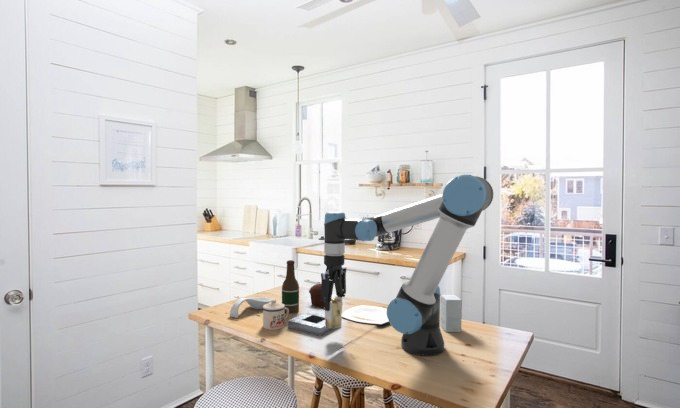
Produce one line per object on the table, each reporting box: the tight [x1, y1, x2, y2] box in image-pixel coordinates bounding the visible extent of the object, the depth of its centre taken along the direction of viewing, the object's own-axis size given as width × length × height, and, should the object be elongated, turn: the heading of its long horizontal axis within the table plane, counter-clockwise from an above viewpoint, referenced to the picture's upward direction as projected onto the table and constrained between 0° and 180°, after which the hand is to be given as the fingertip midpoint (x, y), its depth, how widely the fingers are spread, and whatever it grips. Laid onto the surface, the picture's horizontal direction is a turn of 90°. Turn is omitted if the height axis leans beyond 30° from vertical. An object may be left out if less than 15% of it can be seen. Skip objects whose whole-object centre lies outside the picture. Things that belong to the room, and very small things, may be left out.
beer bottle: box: [281, 259, 300, 315], centre depth 173 cm, size 8×8×24 cm
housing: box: [287, 310, 336, 337], centre depth 154 cm, size 16×14×4 cm
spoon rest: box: [229, 296, 273, 319], centre depth 177 cm, size 24×12×7 cm, turn 152°
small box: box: [440, 294, 463, 333], centre depth 155 cm, size 8×6×13 cm
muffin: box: [308, 283, 325, 308], centre depth 186 cm, size 12×11×10 cm
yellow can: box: [325, 297, 343, 329], centre depth 140 cm, size 6×6×10 cm
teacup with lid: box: [261, 298, 290, 331], centre depth 155 cm, size 12×9×12 cm
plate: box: [342, 304, 389, 326], centre depth 168 cm, size 23×23×2 cm
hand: (333, 316), depth 140 cm, fingers closed on yellow can, 6 cm apart
